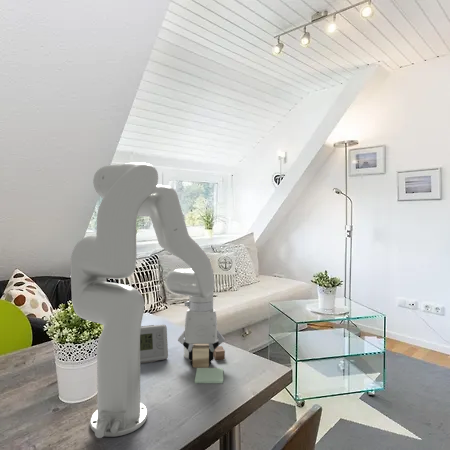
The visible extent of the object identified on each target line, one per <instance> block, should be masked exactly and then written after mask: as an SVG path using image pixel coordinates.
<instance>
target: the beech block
mask: <svg viewBox="0 0 450 450" xmlns="http://www.w3.org/2000/svg"><path fill="white" fill-rule="evenodd" d="M209 349H210V347H209V344H194V345H193V364H192V368H193V369H194V368H196V369H197V368H210V364H209Z"/></svg>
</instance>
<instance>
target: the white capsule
mask: <svg viewBox="0 0 450 450" xmlns="http://www.w3.org/2000/svg"><path fill="white" fill-rule="evenodd" d="M193 345H194V344H193ZM183 358H185V359H186V360H189V351H188V350H187V349H186V348H185V347H184V346H183Z"/></svg>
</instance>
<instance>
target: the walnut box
mask: <svg viewBox="0 0 450 450" xmlns="http://www.w3.org/2000/svg"><path fill="white" fill-rule="evenodd" d="M225 358H226V350H225V349H224V347H223V346H222V345H219V346H218V347H217V348H216V349H215V350H214V351H213V359H214V360H215V361H223V359H225Z"/></svg>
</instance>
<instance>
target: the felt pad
mask: <svg viewBox="0 0 450 450" xmlns="http://www.w3.org/2000/svg"><path fill="white" fill-rule="evenodd" d="M194 384H224V368H223V367H209V368H196V371H195V378H194Z"/></svg>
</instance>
